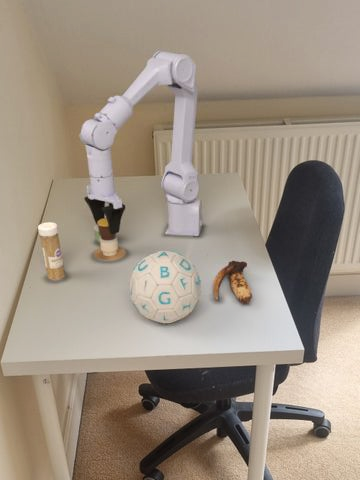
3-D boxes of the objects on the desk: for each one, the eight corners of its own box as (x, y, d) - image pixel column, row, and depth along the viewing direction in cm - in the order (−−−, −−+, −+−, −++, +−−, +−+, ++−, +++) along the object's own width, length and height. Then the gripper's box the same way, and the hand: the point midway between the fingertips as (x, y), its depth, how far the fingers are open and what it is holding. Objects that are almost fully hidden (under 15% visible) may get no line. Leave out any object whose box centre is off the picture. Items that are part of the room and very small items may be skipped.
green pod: (114, 238, 163) (112, 223, 161) (109, 245, 160) (108, 230, 157) (98, 238, 164) (96, 223, 161) (93, 245, 160) (91, 230, 158)
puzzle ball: (199, 300, 135) (198, 237, 125) (202, 335, 123) (202, 269, 114) (133, 302, 135) (127, 240, 125) (130, 338, 123) (124, 272, 114)
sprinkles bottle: (60, 282, 144) (51, 229, 135) (44, 280, 145) (33, 228, 136) (68, 274, 147) (60, 222, 139) (52, 272, 148) (43, 220, 140)
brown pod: (119, 234, 154) (117, 218, 151) (114, 241, 150) (113, 225, 147) (102, 233, 154) (100, 217, 152) (97, 240, 151) (95, 224, 148)
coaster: (129, 249, 158) (129, 247, 157) (121, 262, 151) (121, 260, 151) (99, 247, 159) (99, 245, 159) (90, 261, 153) (90, 259, 152)
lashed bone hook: (207, 276, 145) (218, 311, 130) (206, 258, 142) (217, 292, 128) (244, 272, 145) (259, 307, 131) (244, 254, 142) (259, 288, 128)
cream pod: (120, 249, 156) (119, 234, 154) (116, 257, 153) (114, 241, 150) (103, 248, 157) (102, 233, 154) (99, 256, 153) (97, 240, 151)
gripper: (72, 170, 145) (80, 223, 154) (101, 185, 136) (107, 241, 144) (97, 164, 148) (103, 217, 157) (127, 179, 139) (132, 234, 147)
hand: (107, 228), depth 151 cm, fingers open, 7 cm apart
